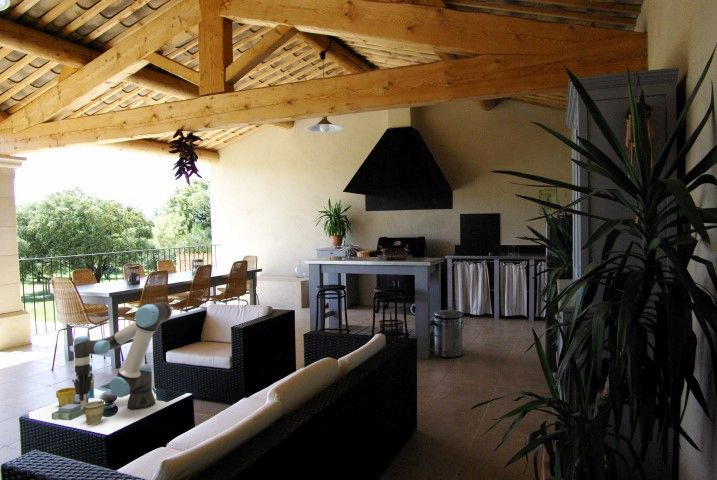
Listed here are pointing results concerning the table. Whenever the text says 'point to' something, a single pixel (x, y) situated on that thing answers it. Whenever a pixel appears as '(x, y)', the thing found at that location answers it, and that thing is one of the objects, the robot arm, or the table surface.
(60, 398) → the plant pot
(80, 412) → the lane box
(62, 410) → the slate block
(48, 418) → the table surface
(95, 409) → the ceramic cup
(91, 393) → the beverage bottle
